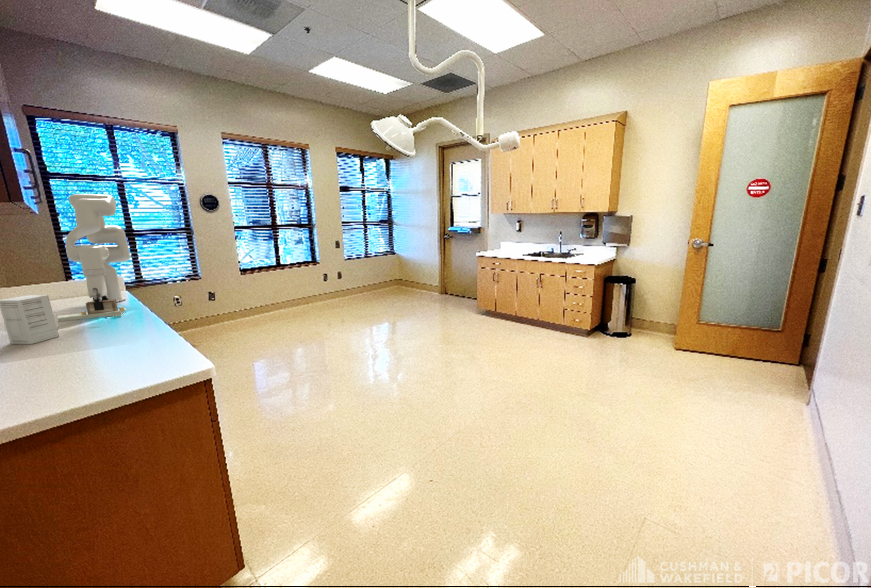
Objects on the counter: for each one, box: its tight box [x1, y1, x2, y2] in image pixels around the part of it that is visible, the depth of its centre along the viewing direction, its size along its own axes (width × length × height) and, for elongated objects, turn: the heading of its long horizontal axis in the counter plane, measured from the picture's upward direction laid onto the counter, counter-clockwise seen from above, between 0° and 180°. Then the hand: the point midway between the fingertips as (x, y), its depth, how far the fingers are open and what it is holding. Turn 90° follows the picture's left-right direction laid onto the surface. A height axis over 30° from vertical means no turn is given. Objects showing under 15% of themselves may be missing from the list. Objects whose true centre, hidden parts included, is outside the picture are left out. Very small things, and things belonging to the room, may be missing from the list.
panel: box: [58, 306, 127, 323], centre depth 164 cm, size 14×27×3 cm, turn 123°
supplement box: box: [0, 294, 60, 345], centre depth 132 cm, size 10×9×17 cm
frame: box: [85, 299, 119, 314], centre depth 167 cm, size 4×10×6 cm, turn 123°
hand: (102, 308), depth 167 cm, fingers open, 9 cm apart
